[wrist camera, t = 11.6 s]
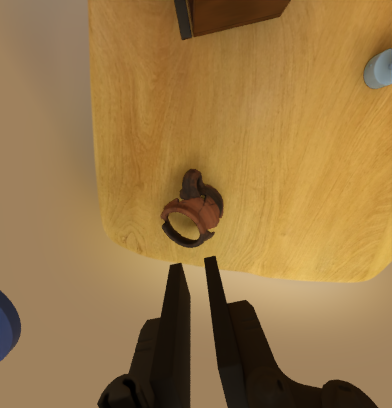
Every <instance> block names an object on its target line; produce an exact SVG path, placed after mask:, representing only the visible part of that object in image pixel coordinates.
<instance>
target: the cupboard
mask: <svg viewBox="0 0 392 408" xmlns="http://www.w3.org/2000/svg"><path fill="white" fill-rule="evenodd" d="M187 1H188V7H189V13H190V18H191V24H192V29H193V35H194V37H196V36H201V35H205V34H209V33H213V32H217V31H222V30H226V29H230V28H234V27H239V26H243V25H247V24H251V23H255V22H260V21H264V20H268V19H272V18H276V17H280V16H281V14H282V12H283V11H284V10H285V8H286V7H287V5H288V4H289V2H290V1H291V0H187ZM174 2H175V7H176V12H177V18H178V23H179V28H180V33H181V38H182V40H185V39H189V38H192V35H191V30H190V24H189V19H188V13H187V8H186V2H185V0H174Z"/></svg>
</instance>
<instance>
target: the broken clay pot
mask: <svg viewBox="0 0 392 408" xmlns="http://www.w3.org/2000/svg"><path fill="white" fill-rule="evenodd" d="M201 195H205V198H204V200H203V198H202V197H200V196H201ZM180 198H181V199H184V200H182V201H181V202H179V199H178V198H177V199H175V200H173V201H171V202H169V203H168V204H167V205H166V206H165V208H164V210H163V212H162V214H161V218H162V219H164V221H165V223H164V224H163V225H162V229H163V230H164V232H165V233H166V235H167V236H168V237H169V238H170V239H171V240H173V241H175V242H176V243H177V244H178V245H181V246H183V247H187V248H193V247H197V246H199V245H201V244H202V243H204V241H206V240H208V239H209V238H212V236H213V235H214V233H215V232H212V233H211V232H209V231H208V229H211V228H214V227H216V226H217V225H218V223H219V218H222V216H223V207H224V205H223V199H222V197H221V195H220V194H219V192H218V191H217V190H216V189H215V188H213V187H212V186H210V185H204V183H203V181H202V175H201V172H199V171H198V170H196V169H190V170H189V171H187V172H186V173H185V175H184V177H183V183H182V189H181V190H180ZM172 212H179V213H182V214H184V215H186V216H188V217H189V218H191V219H192V220H193V221H194V222H195V223H196V225H197V227H198V229H199V232H200V237H199V239H197V240H191V239H188V238H185V237H182V236H181V235H180V234H179V233H178V232H177V231H175V230H174V229H173V227H172V226H171V224H170V222H169V219H168V216H169V213H172Z"/></svg>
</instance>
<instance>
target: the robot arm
mask: <svg viewBox="0 0 392 408" xmlns="http://www.w3.org/2000/svg"><path fill="white" fill-rule="evenodd" d="M204 262H205V270H206V277H207V285H208V294H209V301H210V309H211V317H212V325H213V333H214V341H215V349H216V356H217V364H218V370H219V374H220V378H221V382H222V386H223V390H224V394H225V398H226V402H227V406H228V408H378V407H377V406H376V405H375V403H374V402H373V401H372V400H371V399H370V398H369V397H368V396H367V395H366V394H365V393H363V391H361V390H360V389H359V388H357V387H356V386H354V385H352V384H350V383H349V382H345V381H341V380H330V381H328V382H327V383H326V384H324V385H323V388H317V387H312V386H308V385H303V384H300V383H297V382H295V381H293V380H291V379H290V378H288V377H287V376H286V375H285V374H284V373H283V372H282V371H281V370H280V368H279V367H278V365H277V363H276V361H275V360H274V357H273V354H272V352H271V349H270V347H269V344H268V342H267V339H266V337H265V335H264V332H263V330H262V328H261V325H260V322H259V320H258V318H257V315H256V313H255V310H254V307H253V306H252V305H251V304H250V303H249V302H248V301H246V300H243V301H238V302H233V303H228V304H227V302H226V298H225V294H224V290H223V286H222V281H221V277H220V273H219V269H218V265H217V261H216V256H212V257H207V258H204ZM97 405H98V406H99V408H190V293H189V290H188V286H187V282H186V278H185V274H184V271H183V267H182V263H178V264H173V265H170V269H169V274H168V280H167V285H166V291H165V296H164V302H163V307H162V313H161V317H160V318H155V319H150V320H147V321H146V323H145V324H144V326H143V328H142V329H141V331H140V335H139V338H138V343H137V345H136V349H135V353H134V356H133V359H132V363H131V367H130V370H129V374H124V375H121V376H119V377H117V378H116V379H114V380H113V381H112V382H111V383H110V384H109V385H108V386H107V387H106V389H105V390H104V391H103V393H102V394H101V397H100V399H99V401H98V403H97Z"/></svg>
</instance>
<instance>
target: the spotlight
mask: <svg viewBox="0 0 392 408" xmlns="http://www.w3.org/2000/svg"><path fill="white" fill-rule="evenodd" d="M364 81H365V83H366V84H367V86H369V87H370V88H373V89H378V88H381V87H384V86H387V85H390V84H392V48H390V49H388V50H386V51H384V52H382V53H380V54H378V55H376V56H374V57H373V58H372V59H371V60H370V61H369V62H368V63H367V65H366V67H365V70H364Z"/></svg>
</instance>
